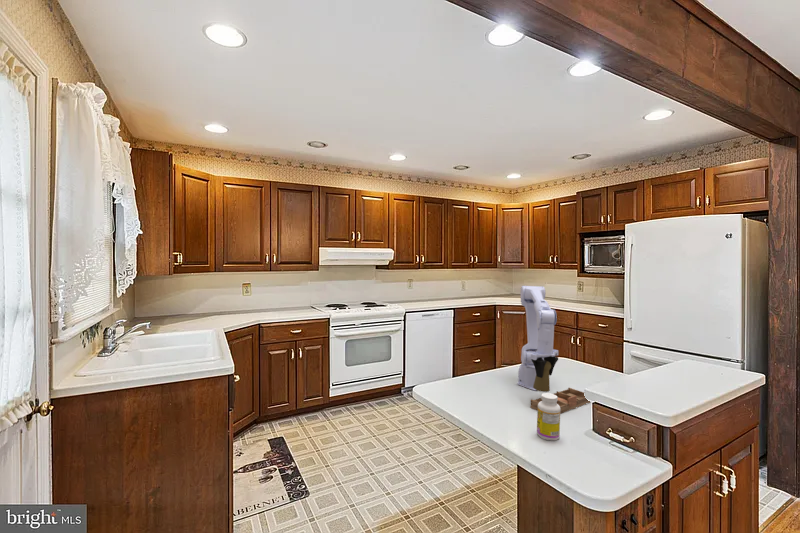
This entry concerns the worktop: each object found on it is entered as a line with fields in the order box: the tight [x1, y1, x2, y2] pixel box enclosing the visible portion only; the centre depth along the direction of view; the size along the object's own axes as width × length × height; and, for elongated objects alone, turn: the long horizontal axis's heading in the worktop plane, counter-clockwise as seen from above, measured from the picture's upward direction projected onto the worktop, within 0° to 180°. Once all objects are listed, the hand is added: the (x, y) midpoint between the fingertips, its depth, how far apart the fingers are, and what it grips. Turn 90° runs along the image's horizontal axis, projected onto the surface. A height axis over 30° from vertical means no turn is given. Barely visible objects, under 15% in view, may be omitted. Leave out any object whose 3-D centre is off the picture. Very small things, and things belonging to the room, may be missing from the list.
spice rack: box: [530, 387, 591, 415], centre depth 139 cm, size 9×25×4 cm, turn 124°
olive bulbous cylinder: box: [533, 361, 551, 393], centre depth 142 cm, size 6×6×11 cm
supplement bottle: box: [536, 392, 561, 441], centre depth 115 cm, size 7×7×13 cm
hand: (544, 375), depth 141 cm, fingers closed on olive bulbous cylinder, 5 cm apart
